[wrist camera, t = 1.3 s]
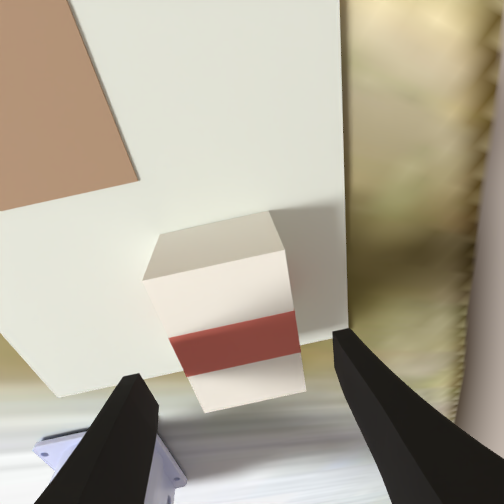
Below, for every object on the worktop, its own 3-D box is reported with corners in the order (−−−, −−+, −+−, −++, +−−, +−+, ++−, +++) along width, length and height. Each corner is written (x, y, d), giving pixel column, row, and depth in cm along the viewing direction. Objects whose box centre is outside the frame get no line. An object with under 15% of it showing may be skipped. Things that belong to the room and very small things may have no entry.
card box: (290, 335, 17) (306, 391, 14) (206, 353, 17) (204, 413, 14) (268, 210, 13) (285, 249, 10) (159, 234, 13) (141, 281, 10)
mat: (345, 329, 18) (348, 335, 18) (60, 392, 18) (57, 399, 18) (324, -332, 7) (331, -360, 6) (-418, -167, 7) (-460, -184, 6)
